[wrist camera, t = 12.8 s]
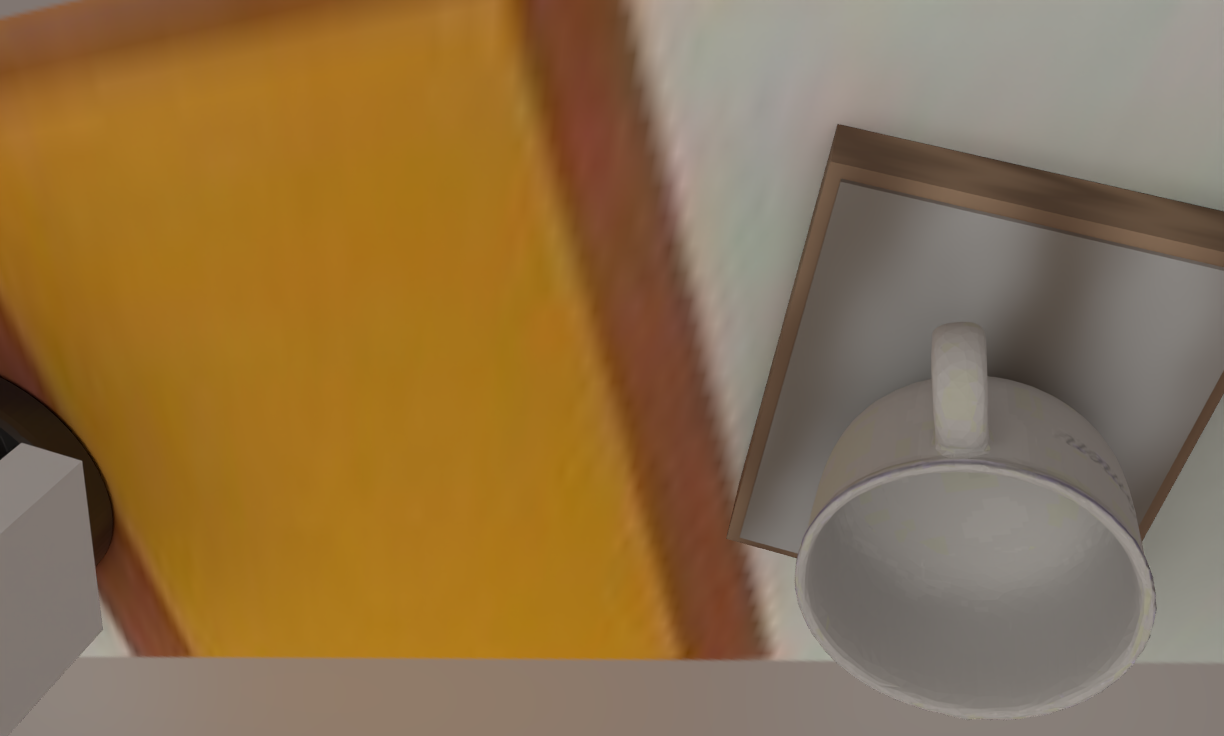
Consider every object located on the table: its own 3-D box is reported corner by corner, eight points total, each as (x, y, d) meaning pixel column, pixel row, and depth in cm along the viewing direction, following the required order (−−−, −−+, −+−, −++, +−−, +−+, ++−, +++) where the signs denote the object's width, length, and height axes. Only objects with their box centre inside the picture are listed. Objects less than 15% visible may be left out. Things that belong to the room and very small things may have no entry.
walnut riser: (739, 482, 49) (725, 543, 46) (837, 124, 40) (829, 164, 36) (1076, 573, 47) (1089, 643, 44) (1260, 220, 38) (1295, 272, 35)
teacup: (1080, 593, 43) (1110, 756, 36) (800, 550, 45) (780, 696, 38) (1175, 271, 35) (1235, 400, 29) (837, 238, 38) (820, 351, 31)
